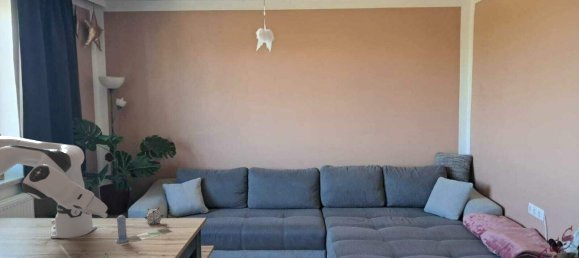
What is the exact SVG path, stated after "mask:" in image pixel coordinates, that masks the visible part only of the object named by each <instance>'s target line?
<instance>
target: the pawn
mask: <svg viewBox="0 0 579 258" xmlns="http://www.w3.org/2000/svg"><path fill="white" fill-rule="evenodd" d="M116 222H117V223H116V225H117V237H116V240H117V242H116V243H117V244H118V243H119V244H122V243H126V242H128V237H129V236H127V235H128V234H127V225H126V224H127V223H126V222H127V221H126V216H125V215H123V214H121V215H118V216H117V218H116ZM119 244H118V245H119Z"/></svg>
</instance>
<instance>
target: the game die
mask: <svg viewBox="0 0 579 258" xmlns="http://www.w3.org/2000/svg"><path fill="white" fill-rule="evenodd" d="M147 210H148V211H147V214H146V216H144V219H145V220H147V223H148V225H156V224H157V225H158V224H159V225H161V220H162V217H164V214H162V213H161V210H160V207H158V208H152V209H149V208H147Z"/></svg>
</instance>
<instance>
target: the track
mask: <svg viewBox="0 0 579 258" xmlns="http://www.w3.org/2000/svg"><path fill="white" fill-rule="evenodd" d="M170 233H173V231H172V230H171V229H169V228H167V227H163V228H159V229H155V230H151V231H147V232H143V233H139V234H135V235H132V236H128V242H126V243H122V244H119V243H117V239H115V240H114V242H115V243H117V244H118V245H119V246H124V245H127V244H131V243H135V242H139V241H143V240H147V239H150V238H154V237H155V238H156V237H158V236H162V235H166V234H170Z"/></svg>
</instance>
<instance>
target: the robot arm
mask: <svg viewBox="0 0 579 258" xmlns="http://www.w3.org/2000/svg"><path fill="white" fill-rule="evenodd" d="M84 161H85V154H84V151H83V149H82V148H80V147H79V146H77V145H75V144H66V143H65V144H64V143H58V142H57V143H56V142H47V141H40V140H39V141H38V140H34V139H29V138H24V137H18V136H7V135H2V134H1V133H0V176H2V175H4V174H5V173H7V172H8V171H9V170H11V169H12V168H13V167H15V166H16V165H21V166H28V167H33V168H32V169H31V171H30V172H29V173H28V174H27V175H26V177H25V178H24V179H23V181H22V182H21V186H22V189H23V192H25V193H26V194H27V195H29V196H30V197H32V198H33V199H35V200H38V201H40V200H45V199H46V200H47V199H49V198H51V199H52V200H54V201H55V202H56V203H57V204H56V212H57V213H56V215H55V218H53V219H51V225H52V226H51V227H50V228H51V229H50V238H51V239H56V238H57V239H71V238H76V237H80V236H85V235H87V234H89V233H91V232H92V231H93V230H95V229H97V228H98V227H97V224H94V223H93V216H92V215H94V216H95V215H96V216H100V218H103V219H106V218H107V217H108V215H109V214H108V213H107V210H108V206H107V205H106V204H105V203H104V202H103V201H102V200H101V199H99V198H98V197H97V196H95V193H94V192H93V191H90V190H89V189H86V188H85V181H84V179H83V174H82V167H81V166H82V164H83V163H84Z"/></svg>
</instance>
